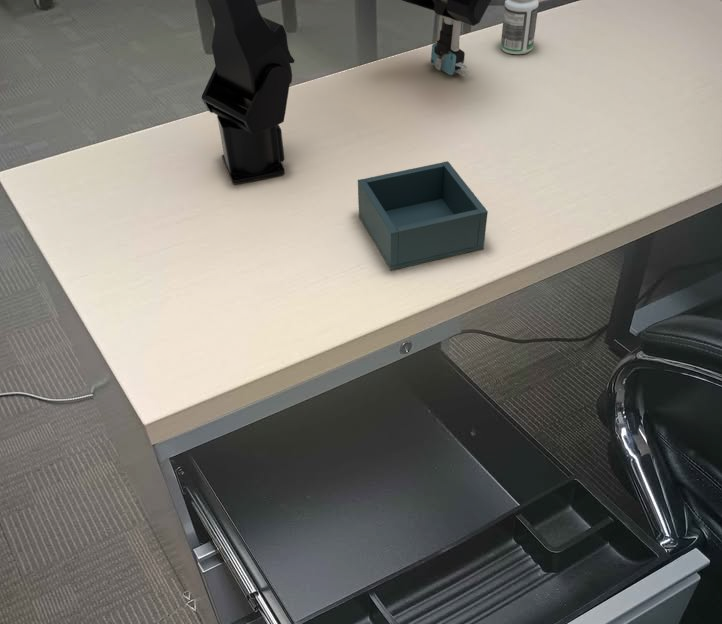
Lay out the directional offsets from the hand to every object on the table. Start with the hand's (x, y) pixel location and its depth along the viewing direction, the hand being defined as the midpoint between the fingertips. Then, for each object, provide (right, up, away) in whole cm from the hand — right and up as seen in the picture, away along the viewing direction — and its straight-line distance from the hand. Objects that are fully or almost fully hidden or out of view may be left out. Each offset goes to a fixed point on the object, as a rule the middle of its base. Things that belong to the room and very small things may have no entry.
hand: (458, 14), depth 103 cm
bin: (-7, -36, -19) cm, 41 cm away
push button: (-1, -5, +5) cm, 7 cm away
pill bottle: (+10, 0, +9) cm, 13 cm away
